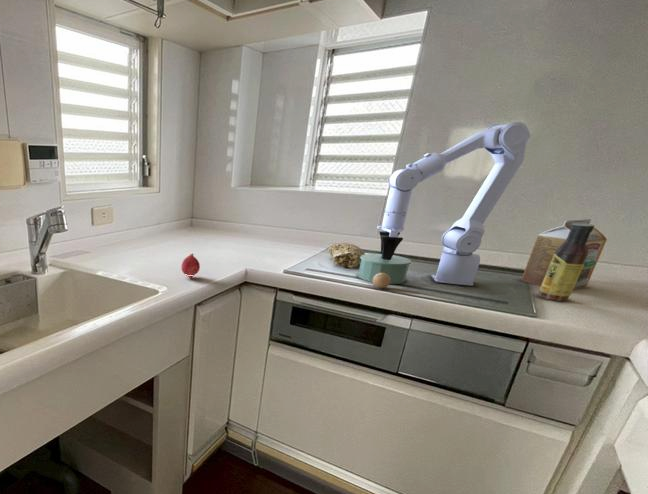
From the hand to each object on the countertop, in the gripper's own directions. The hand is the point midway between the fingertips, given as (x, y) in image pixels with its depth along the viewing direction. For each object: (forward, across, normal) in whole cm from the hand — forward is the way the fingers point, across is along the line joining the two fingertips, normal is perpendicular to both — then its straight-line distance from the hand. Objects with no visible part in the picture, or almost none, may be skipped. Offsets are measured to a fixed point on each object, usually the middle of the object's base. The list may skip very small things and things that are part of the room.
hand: (385, 256), depth 126 cm
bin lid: (+1, 0, 0) cm, 1 cm away
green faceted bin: (+7, 0, 0) cm, 7 cm away
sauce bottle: (+7, +4, +41) cm, 42 cm away
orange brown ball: (+7, +12, -1) cm, 14 cm away
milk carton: (+7, -14, +47) cm, 50 cm away
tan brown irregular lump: (+7, -19, -11) cm, 23 cm away
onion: (+7, +24, -56) cm, 61 cm away
